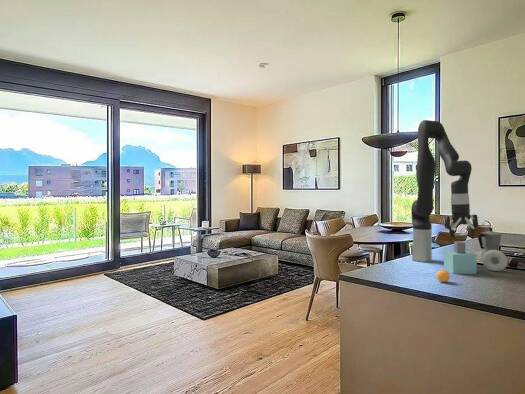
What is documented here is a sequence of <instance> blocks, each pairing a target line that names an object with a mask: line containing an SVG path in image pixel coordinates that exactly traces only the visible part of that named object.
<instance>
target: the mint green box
mask: <svg viewBox="0 0 525 394" xmlns="http://www.w3.org/2000/svg"><path fill="white" fill-rule="evenodd" d="M477 262H478V261H477V254H476V253H474V252H472V251H471V252H470V251H468V250H466V242H465V241H460V240H459V241H454V240H453V250H443V270H445V271H447V272H448V273H451V274H455V275H457V274H460V275H461V274H462V275H464V274H465V275H466V274H467V275H474V274H475V275H476V274H477V273H478V271H477V265H478V264H477Z"/></svg>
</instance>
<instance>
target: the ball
mask: <svg viewBox="0 0 525 394" xmlns="http://www.w3.org/2000/svg"><path fill="white" fill-rule="evenodd" d="M450 277H451V275H450V272H449V271H448V270H446V269H441V270H439V271H437V272H436V279H437V280H438V281H439V282H441V283H446V282H448V281H450V279H451V278H450Z"/></svg>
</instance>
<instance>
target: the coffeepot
mask: <svg viewBox="0 0 525 394" xmlns="http://www.w3.org/2000/svg"><path fill="white" fill-rule="evenodd" d="M502 236H503V235H502V233H501V232H496V231H493V227H488V231H484V232H479V234H478V236H477V240H478V242H479V248H480V250H481V249H482V251H481V256H480V262H481V261H482V257H483V255H484V253H486V252H487V251H489V250H498V251H500V250H499V247H500V246H501V240H502ZM490 261H491V262H492V263H493V264H497V263H498V262H499V260H498V258H496V257H492V258H491V259H490ZM482 263H483V261H482Z"/></svg>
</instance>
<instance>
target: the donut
mask: <svg viewBox="0 0 525 394" xmlns="http://www.w3.org/2000/svg"><path fill="white" fill-rule="evenodd" d="M492 257H496V258H498V260H499V262H498V263H497V264H493V263H492V262H491V261H490V259H491V258H492ZM482 261H483V262H482V264H483V266H484V267H485V268H486V269H488V270H489V271H493V272H500V271H503V270H504V269H505V268H506V267H507V266H508V258H507V255H506V254H505V253H503V251H500V250H499V251H498V250H489V251H487V252H486V253H484V255H483V257H482Z"/></svg>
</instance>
